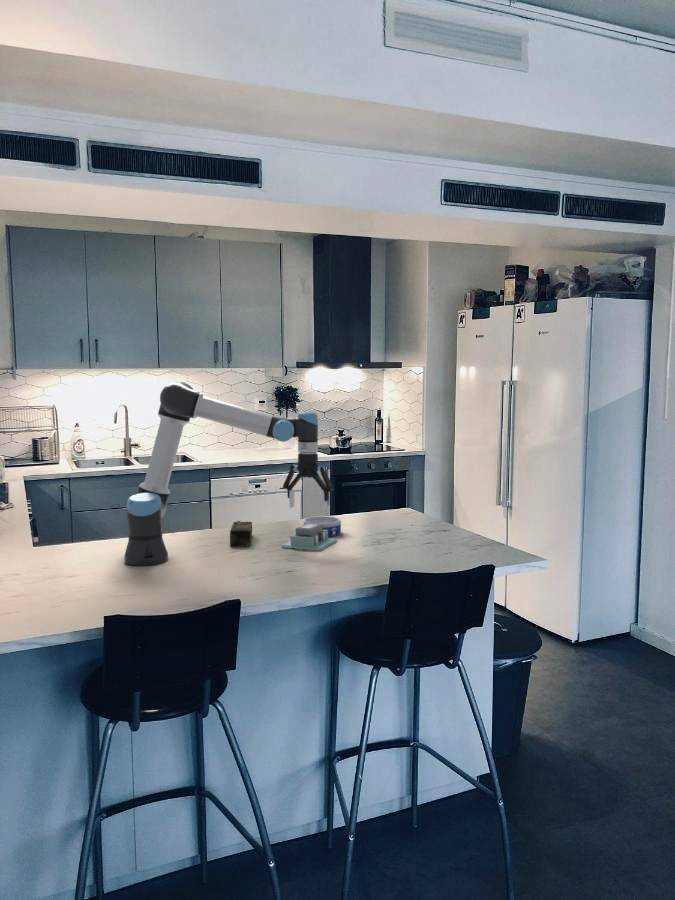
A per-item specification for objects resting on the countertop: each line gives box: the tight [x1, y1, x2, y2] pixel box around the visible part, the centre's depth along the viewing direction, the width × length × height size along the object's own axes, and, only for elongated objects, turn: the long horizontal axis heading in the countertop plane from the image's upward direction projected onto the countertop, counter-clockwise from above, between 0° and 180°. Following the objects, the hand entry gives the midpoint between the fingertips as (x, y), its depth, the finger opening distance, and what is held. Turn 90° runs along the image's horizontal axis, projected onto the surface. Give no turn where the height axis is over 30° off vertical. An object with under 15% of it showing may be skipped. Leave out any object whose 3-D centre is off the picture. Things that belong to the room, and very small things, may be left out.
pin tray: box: [281, 530, 338, 552], centre depth 278 cm, size 16×16×4 cm
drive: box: [295, 523, 323, 544], centre depth 278 cm, size 10×6×6 cm, turn 154°
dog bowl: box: [303, 515, 342, 538], centre depth 297 cm, size 15×15×6 cm
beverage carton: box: [229, 520, 253, 547], centre depth 286 cm, size 8×19×7 cm, turn 4°
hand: (307, 508), depth 277 cm, fingers open, 13 cm apart
